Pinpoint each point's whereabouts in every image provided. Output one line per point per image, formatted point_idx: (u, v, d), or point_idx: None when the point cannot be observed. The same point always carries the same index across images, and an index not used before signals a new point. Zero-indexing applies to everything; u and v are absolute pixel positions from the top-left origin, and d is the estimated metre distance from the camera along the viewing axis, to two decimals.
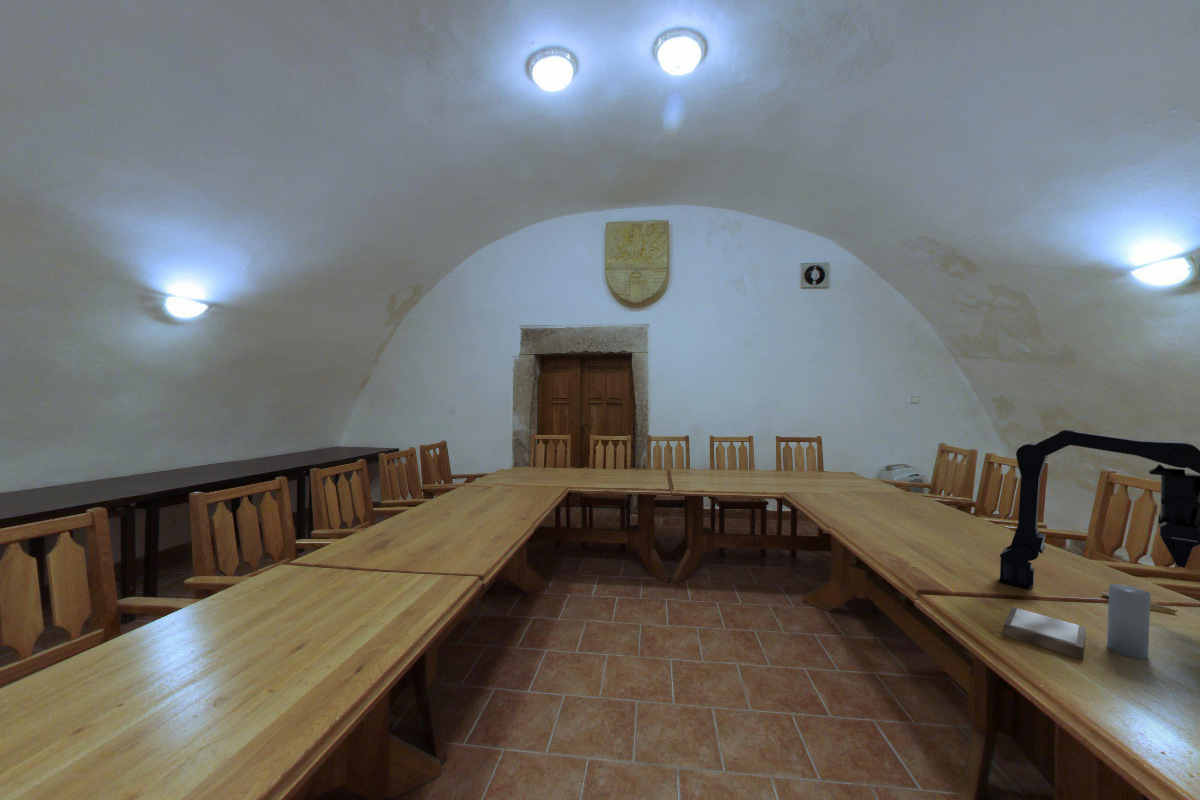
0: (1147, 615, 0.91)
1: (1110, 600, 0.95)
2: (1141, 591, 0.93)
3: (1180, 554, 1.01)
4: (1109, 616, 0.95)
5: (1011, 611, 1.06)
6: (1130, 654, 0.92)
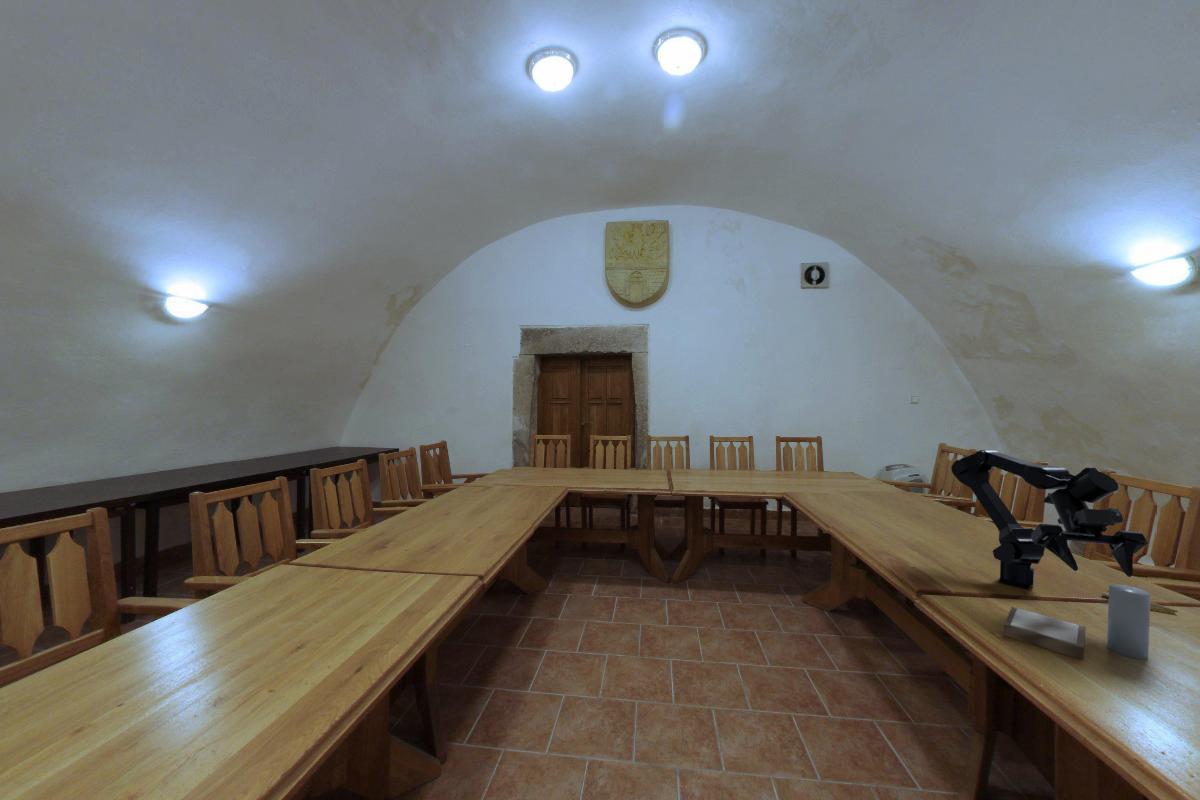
0: (1147, 615, 0.91)
1: (1110, 600, 0.95)
2: (1141, 591, 0.93)
3: (1064, 556, 1.05)
4: (1109, 616, 0.95)
5: (1011, 611, 1.06)
6: (1130, 654, 0.92)
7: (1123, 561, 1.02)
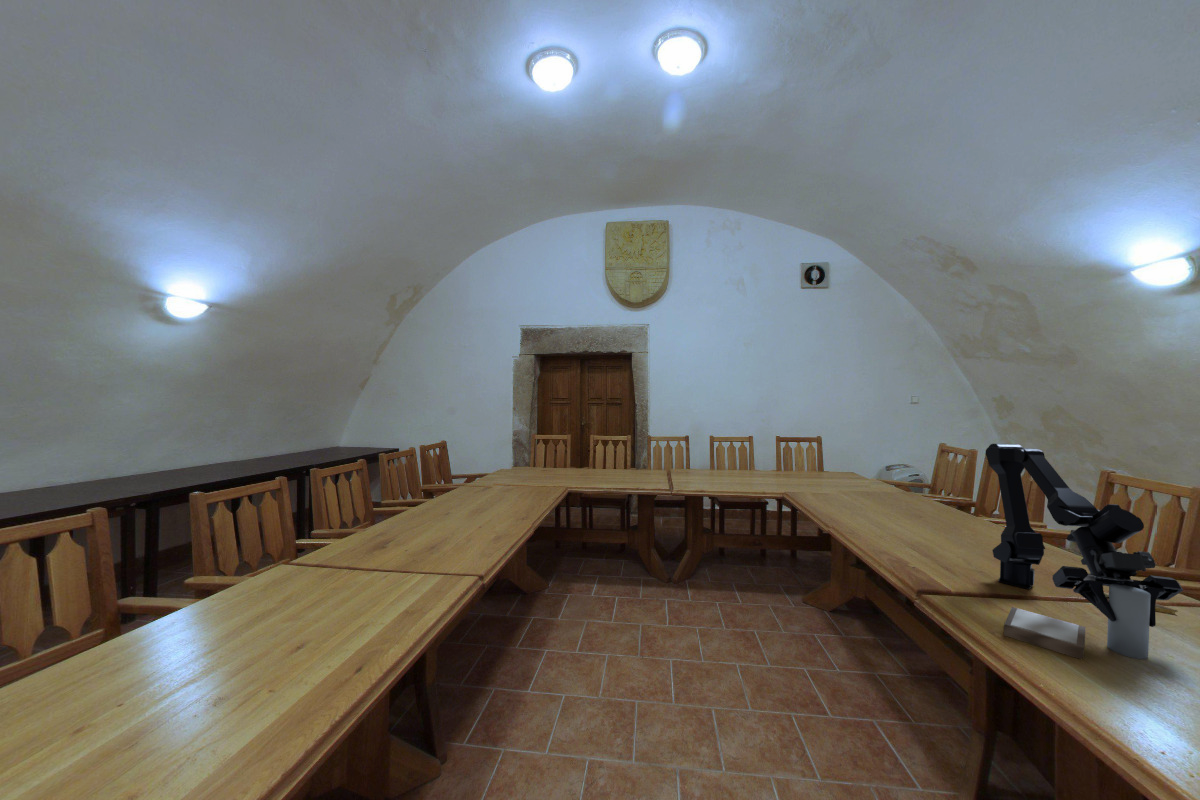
0: (1147, 615, 0.91)
1: (1110, 600, 0.95)
2: (1141, 591, 0.93)
3: (1100, 605, 0.96)
4: None
5: (1011, 611, 1.06)
6: (1130, 654, 0.92)
7: None
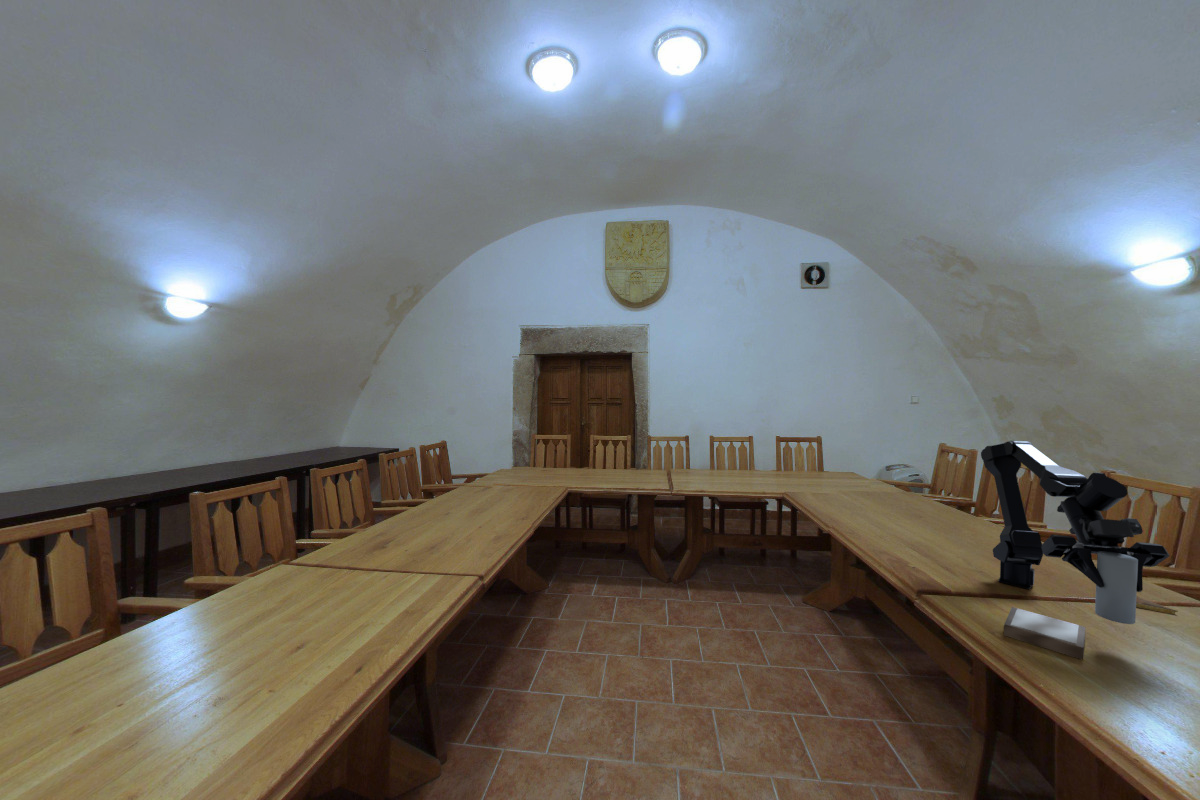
0: (1134, 580, 0.92)
1: (1098, 567, 0.96)
2: (1129, 557, 0.94)
3: (1088, 572, 0.97)
4: None
5: (1011, 611, 1.06)
6: (1118, 619, 0.93)
7: None
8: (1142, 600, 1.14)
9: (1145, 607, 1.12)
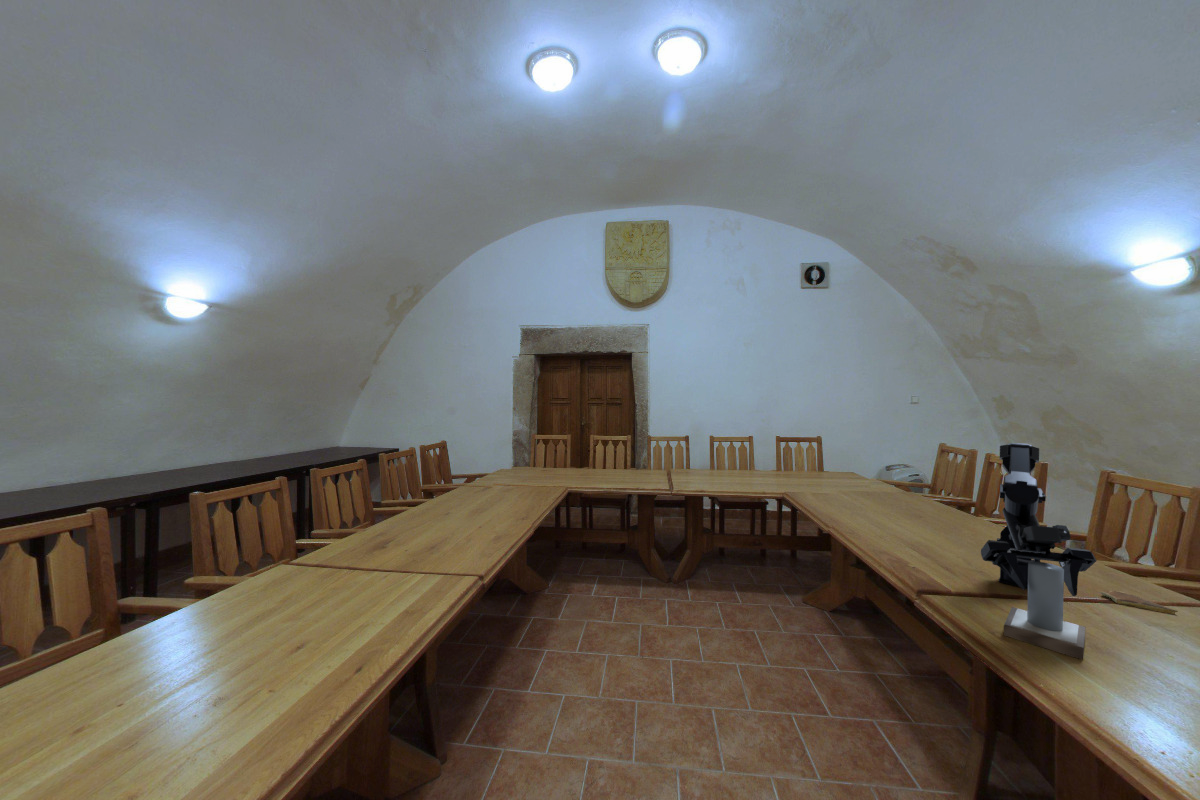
0: (1060, 589, 0.96)
1: (1029, 576, 1.00)
2: (1056, 567, 0.98)
3: (1013, 575, 1.02)
4: (1028, 592, 1.01)
5: (1011, 611, 1.06)
6: (1046, 627, 0.97)
7: (1068, 579, 0.98)
8: (1142, 600, 1.14)
9: (1145, 607, 1.12)
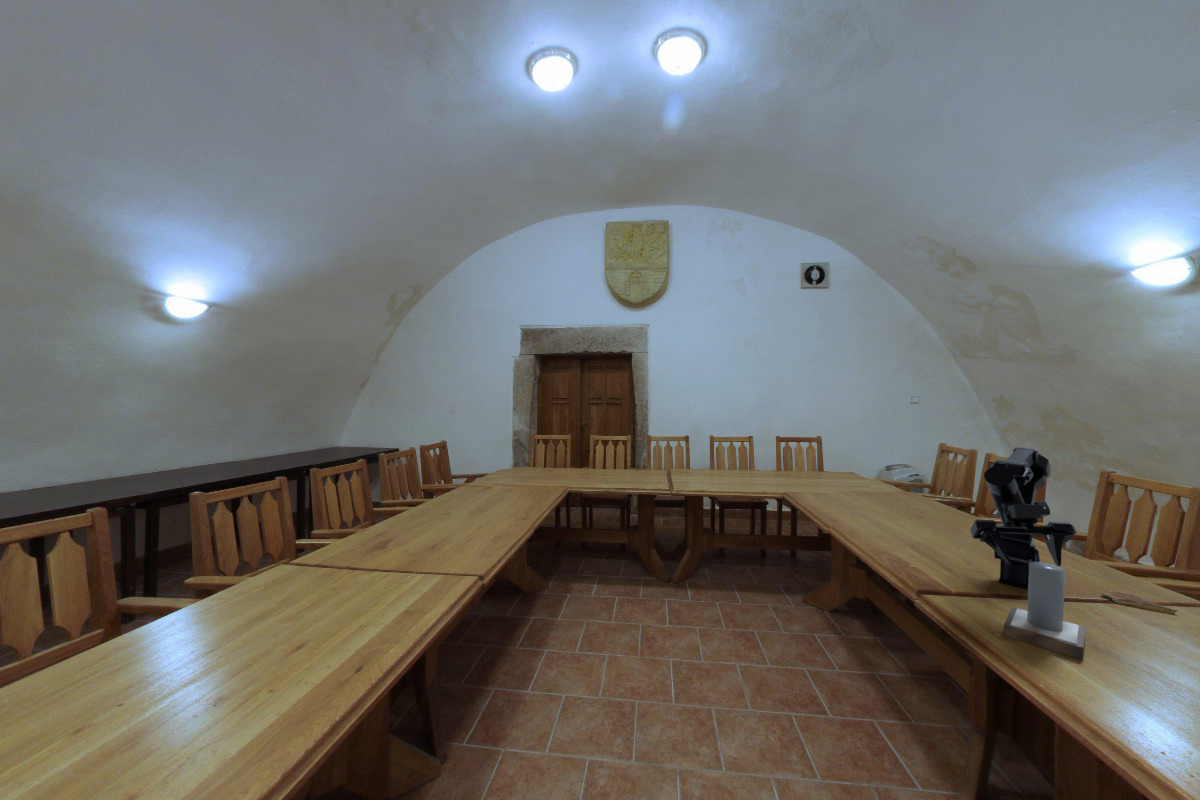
0: (1061, 590, 0.96)
1: (1029, 576, 1.00)
2: (1057, 567, 0.98)
3: (998, 550, 1.10)
4: (1028, 592, 1.01)
5: (1011, 611, 1.06)
6: (1046, 627, 0.97)
7: (1053, 551, 1.07)
8: (1142, 600, 1.14)
9: (1145, 607, 1.12)
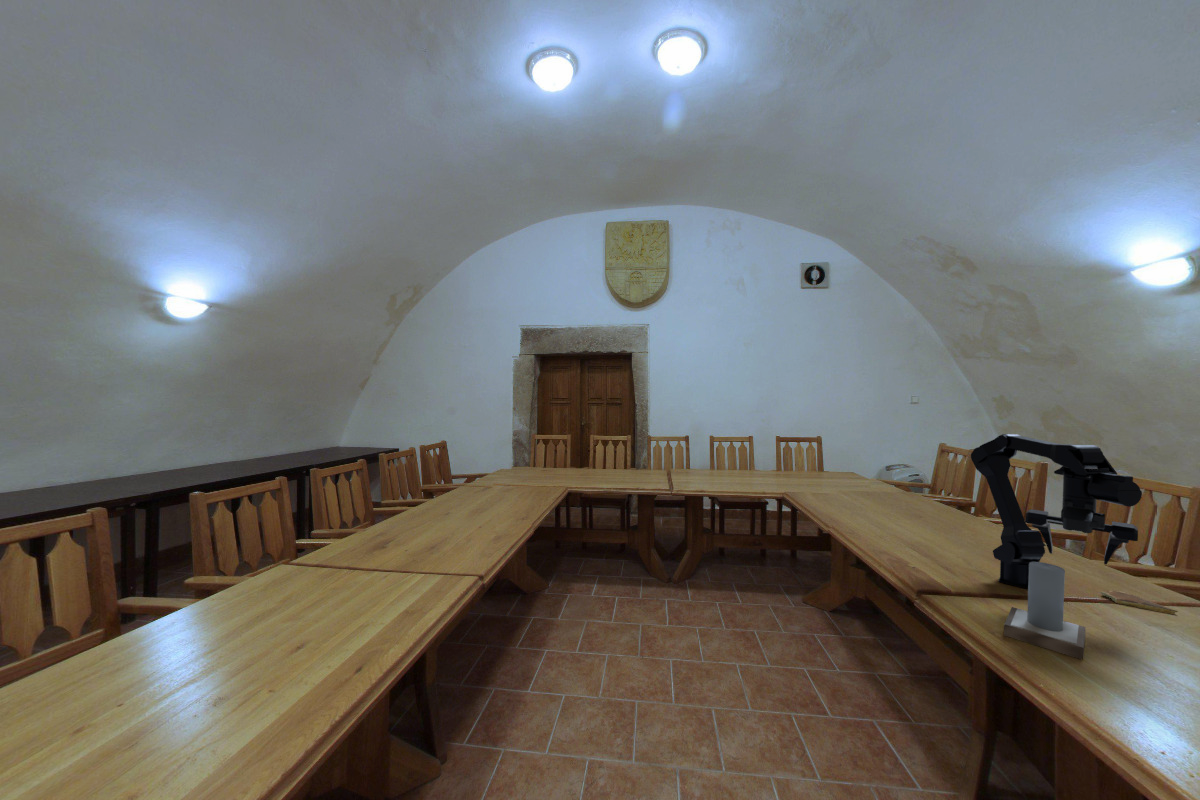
0: (1061, 590, 0.96)
1: (1029, 576, 1.00)
2: (1057, 567, 0.98)
3: None
4: (1028, 592, 1.01)
5: (1011, 611, 1.06)
6: (1046, 627, 0.97)
7: (1106, 549, 1.07)
8: (1142, 600, 1.14)
9: (1145, 607, 1.12)
